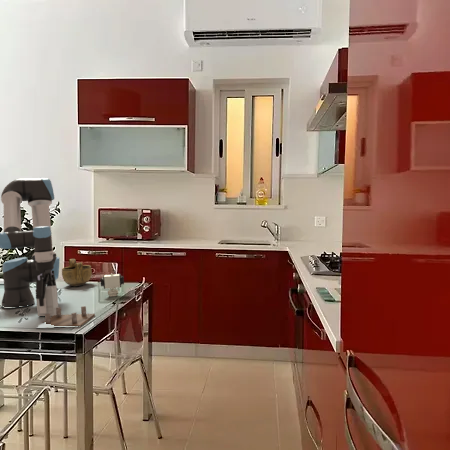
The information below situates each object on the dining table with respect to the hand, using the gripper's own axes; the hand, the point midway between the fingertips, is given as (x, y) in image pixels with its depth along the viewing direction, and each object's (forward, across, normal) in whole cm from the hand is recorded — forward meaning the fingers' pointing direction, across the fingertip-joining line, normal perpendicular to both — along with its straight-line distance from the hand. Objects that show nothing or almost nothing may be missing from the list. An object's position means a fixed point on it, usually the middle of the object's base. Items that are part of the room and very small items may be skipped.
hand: (48, 310), depth 215 cm
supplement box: (+2, 0, 0) cm, 2 cm away
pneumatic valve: (+2, +36, -19) cm, 41 cm away
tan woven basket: (+2, +71, +13) cm, 72 cm away
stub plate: (+2, -14, -14) cm, 20 cm away
